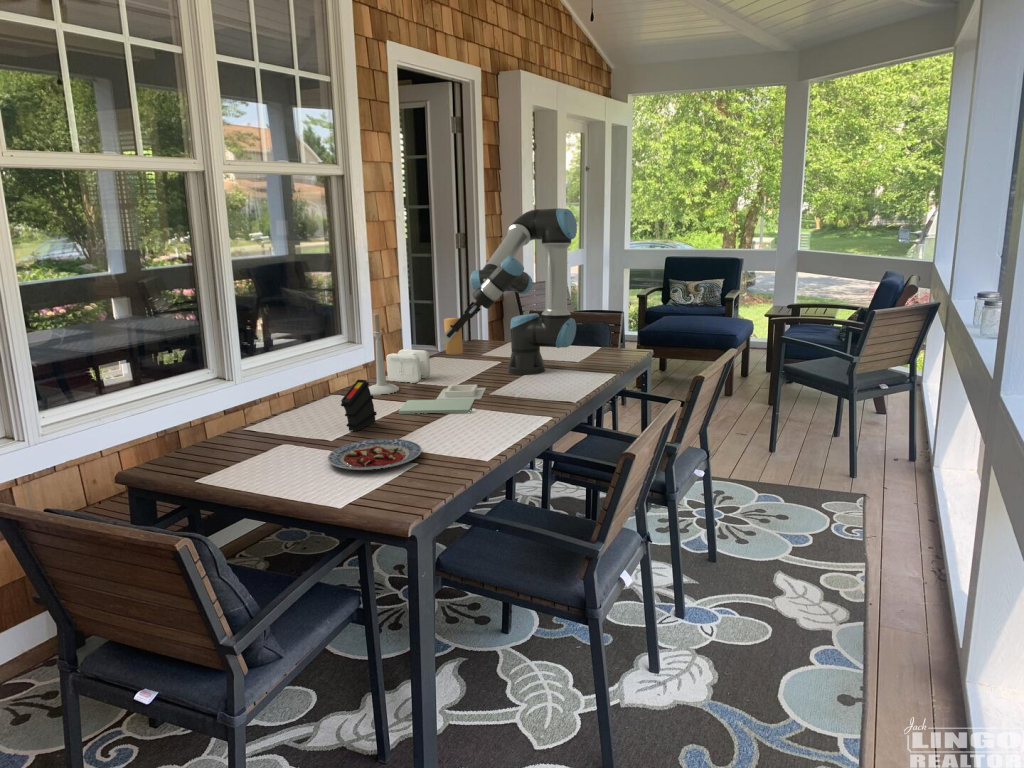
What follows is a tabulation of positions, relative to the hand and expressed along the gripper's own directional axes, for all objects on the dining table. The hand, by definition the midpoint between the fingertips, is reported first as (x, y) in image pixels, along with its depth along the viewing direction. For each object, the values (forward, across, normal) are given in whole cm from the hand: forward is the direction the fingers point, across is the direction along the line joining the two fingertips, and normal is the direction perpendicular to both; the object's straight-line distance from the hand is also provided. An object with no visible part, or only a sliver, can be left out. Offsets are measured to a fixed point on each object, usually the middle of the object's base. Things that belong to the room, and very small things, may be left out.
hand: (443, 341), depth 272 cm
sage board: (+16, +13, +14) cm, 25 cm away
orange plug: (0, 0, +6) cm, 6 cm away
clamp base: (+11, -3, +18) cm, 22 cm away
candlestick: (+34, -13, -4) cm, 37 cm away
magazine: (+31, +35, 0) cm, 46 cm away
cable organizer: (+29, -30, +1) cm, 42 cm away
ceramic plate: (+22, +66, +9) cm, 70 cm away
